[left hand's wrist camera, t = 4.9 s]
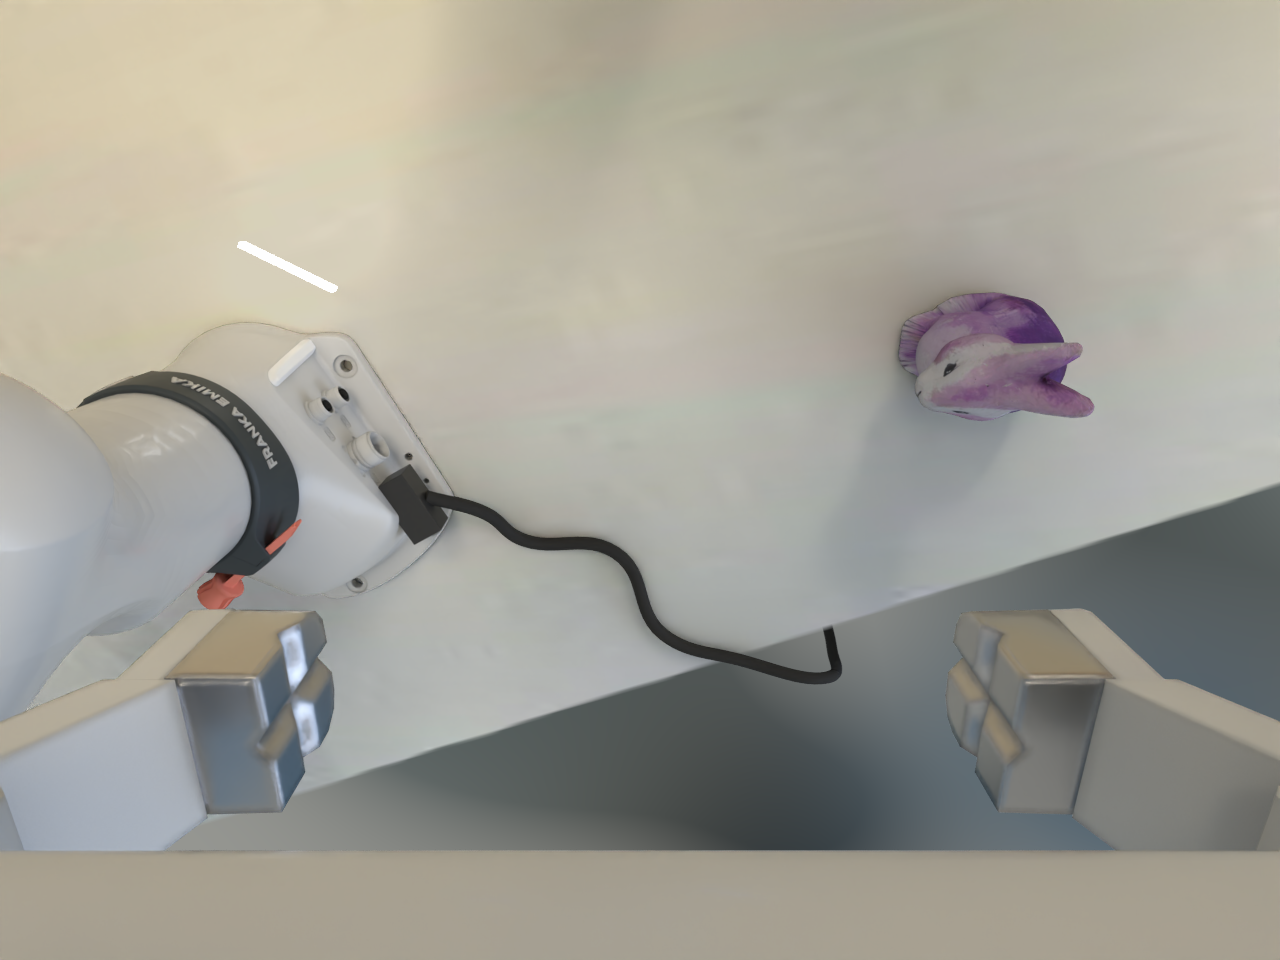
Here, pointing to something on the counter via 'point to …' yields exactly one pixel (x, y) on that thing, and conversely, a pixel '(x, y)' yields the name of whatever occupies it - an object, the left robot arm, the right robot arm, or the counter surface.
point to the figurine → (990, 359)
